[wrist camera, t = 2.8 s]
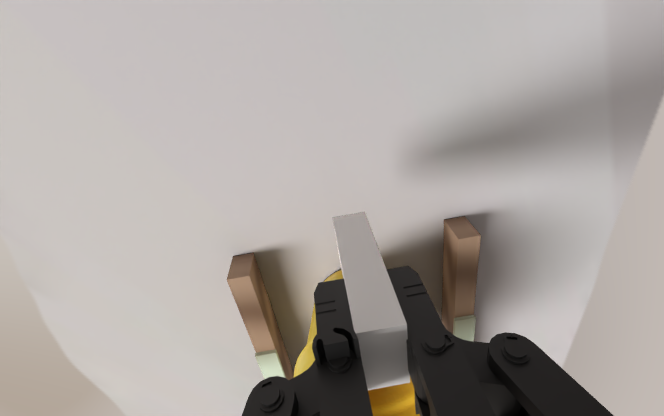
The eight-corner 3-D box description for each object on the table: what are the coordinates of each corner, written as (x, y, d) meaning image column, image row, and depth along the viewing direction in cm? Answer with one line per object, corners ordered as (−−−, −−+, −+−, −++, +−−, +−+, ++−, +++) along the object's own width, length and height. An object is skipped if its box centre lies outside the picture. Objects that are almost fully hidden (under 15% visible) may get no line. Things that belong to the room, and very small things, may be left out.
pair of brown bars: (232, 256, 24) (225, 282, 22) (465, 215, 24) (483, 237, 22) (288, 404, 34) (287, 434, 31) (455, 375, 34) (467, 402, 31)
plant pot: (444, 292, 28) (508, 411, 19) (352, 355, 31) (373, 483, 22) (364, 219, 24) (401, 331, 15) (266, 300, 27) (251, 432, 18)
